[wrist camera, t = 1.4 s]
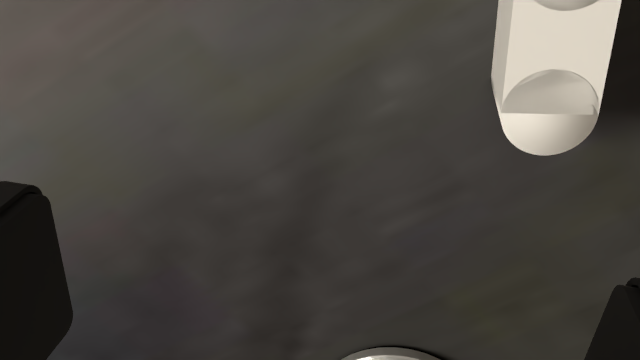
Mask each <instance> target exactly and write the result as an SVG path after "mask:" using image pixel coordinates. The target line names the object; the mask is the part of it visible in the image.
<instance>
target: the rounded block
mask: <svg viewBox="0 0 640 360" xmlns="http://www.w3.org/2000/svg"><path fill="white" fill-rule="evenodd" d="M621 1H622V0H499V3H498V13H497V23H496V34H495V44H494V54H493V64H492V74H491V85H492V89H493V93H494V97H495V101H496V105H497V109H498V113H499V117H500V120H501V124H502V128H503V131H504V133H505V135H506V137H507V138H508V139H509V141H510V142H511V143H512V144H513V145H515V146H516V147H517V148H519V149H520V150H523V151H525V152H527V153H530V154H535V155H555V154H559V153H562V152H565V151H568V150H570V149H572V148H574V147H575V146H577V145H578V144H580V143H581V142H582V141H583V140H584V139H585V138H586V137H587V136H588V135H589V134H590V133H591V131H592V130H593V128H594V126H595V124H596V122H597V119H598V115H599V110H600V105H601V100H602V95H603V90H604V85H605V80H606V75H607V70H608V65H609V60H610V55H611V50H612V45H613V41H614V36H615V31H616V26H617V21H618V16H619V11H620V6H621Z"/></svg>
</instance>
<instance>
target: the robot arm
mask: <svg viewBox="0 0 640 360" xmlns="http://www.w3.org/2000/svg"><path fill="white" fill-rule="evenodd" d="M72 319H73V310H72V306H71V301H70V296H69V291H68V287H67V282H66V277H65V272H64V267H63V263H62V258H61V253H60V248H59V243H58V239H57V234H56V229H55V224H54V219H53V215H52V210H51V205H50V202H49V200H48V198H47V197H46V196H43V195H42V192H41V191H40V189H39V188H38V187H36V186H34V185H27V184H20V183H14V182H7V181H0V360H46V359H47V358H48V356H49V355H50V354H51V353H52V351H53V350H54V349H55V348H56V346H57V345H58V344H59V342H60V341H61V340H62V339H63V337H64V336H65V335H66V333H67V332H68V330H69V328H70V326H71V323H72ZM342 360H440V359H438V358H436V357H433V356H431V355H429V354H426V353H423V352H419V351H415V350H412V349H405V348H397V347H379V348H373V349H367V350H363V351H360V352H357V353H354V354H351V355H349V356H347V357H345V358H344V359H342ZM584 360H640V278H631V279H630V280H629V281H628V282H627V284H626V286H624V285H617V286H616V287H615V288H614V290H613V292H612V294H611V296H610V299H609V301H608V303H607V306H606V308H605V311H604V313H603V315H602V318H601V320H600V323H599V325H598V328H597V330H596V332H595V335H594V337H593V340H592V342H591V344H590V347H589V349H588V352H587V354H586V357H585V359H584Z"/></svg>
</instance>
